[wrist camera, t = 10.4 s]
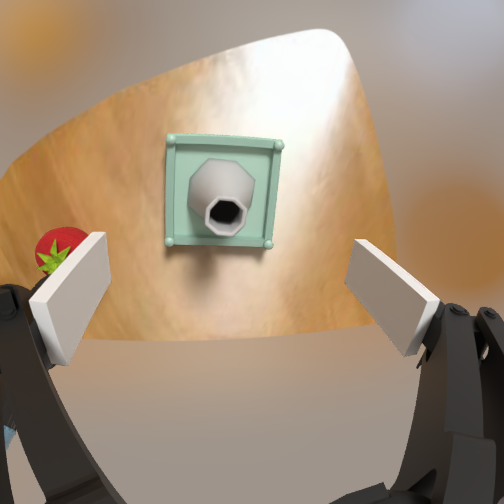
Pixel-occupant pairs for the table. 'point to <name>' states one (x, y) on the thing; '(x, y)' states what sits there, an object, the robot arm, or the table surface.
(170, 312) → the table surface
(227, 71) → the table surface
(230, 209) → the flask
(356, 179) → the table surface
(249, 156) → the base board
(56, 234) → the strawberry
